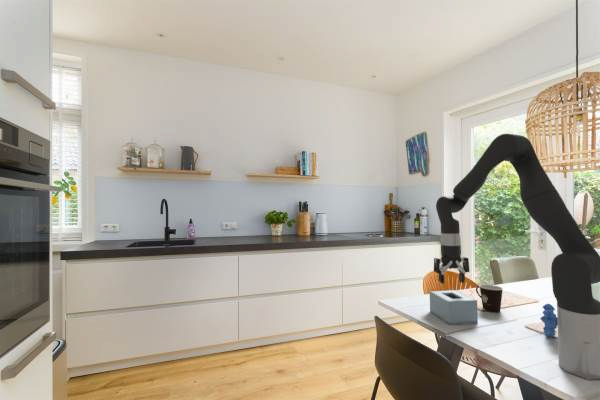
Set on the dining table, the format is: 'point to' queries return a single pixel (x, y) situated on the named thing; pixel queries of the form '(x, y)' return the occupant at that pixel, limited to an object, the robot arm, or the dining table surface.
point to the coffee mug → (490, 297)
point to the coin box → (453, 307)
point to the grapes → (549, 320)
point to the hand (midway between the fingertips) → (451, 282)
